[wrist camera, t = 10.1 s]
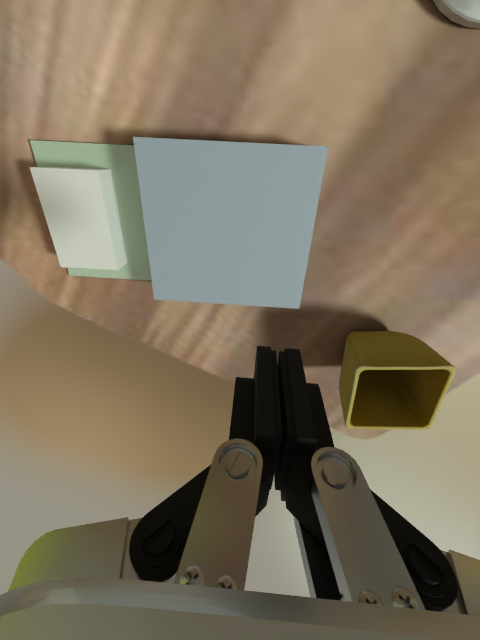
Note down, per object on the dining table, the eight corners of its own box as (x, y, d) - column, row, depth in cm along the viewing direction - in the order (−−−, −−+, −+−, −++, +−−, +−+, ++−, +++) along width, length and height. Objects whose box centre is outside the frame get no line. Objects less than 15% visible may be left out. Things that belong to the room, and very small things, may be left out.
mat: (32, 140, 25) (29, 140, 25) (151, 146, 25) (149, 146, 24) (71, 273, 32) (69, 275, 31) (165, 279, 31) (163, 281, 31)
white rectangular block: (97, 170, 23) (111, 169, 25) (29, 167, 24) (48, 166, 26) (117, 270, 28) (127, 262, 30) (60, 266, 28) (74, 259, 30)
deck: (150, 139, 24) (132, 136, 21) (318, 148, 24) (328, 146, 21) (165, 283, 32) (154, 299, 28) (294, 292, 31) (299, 308, 28)
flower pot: (326, 373, 37) (344, 430, 29) (333, 318, 33) (357, 367, 25) (393, 372, 36) (430, 430, 29) (410, 316, 32) (458, 366, 24)
